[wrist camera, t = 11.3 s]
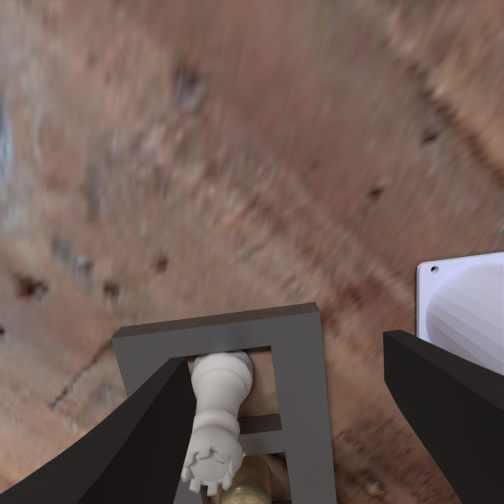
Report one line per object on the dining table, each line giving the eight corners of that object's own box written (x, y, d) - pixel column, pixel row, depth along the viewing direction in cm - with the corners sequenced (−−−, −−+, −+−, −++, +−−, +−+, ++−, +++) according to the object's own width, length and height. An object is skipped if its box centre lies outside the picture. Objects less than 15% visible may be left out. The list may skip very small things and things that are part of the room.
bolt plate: (314, 302, 20) (336, 340, 15) (333, 513, 24) (354, 595, 19) (121, 327, 20) (79, 373, 15) (176, 530, 24) (158, 615, 20)
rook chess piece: (252, 393, 21) (252, 513, 14) (193, 391, 21) (160, 509, 13) (255, 341, 20) (258, 438, 12) (194, 338, 20) (159, 434, 12)
